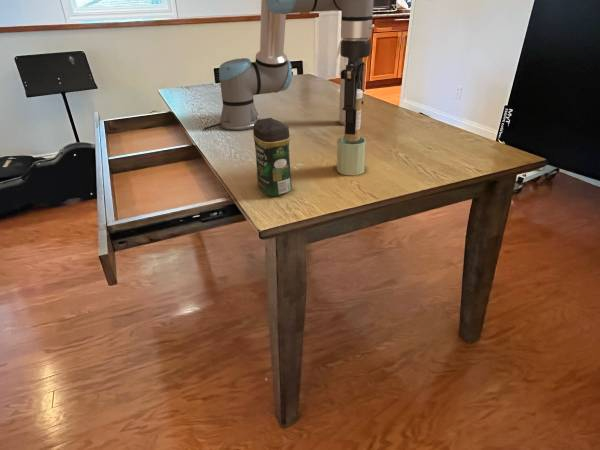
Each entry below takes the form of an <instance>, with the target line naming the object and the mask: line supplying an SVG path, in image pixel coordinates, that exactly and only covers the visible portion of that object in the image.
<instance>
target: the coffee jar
mask: <svg viewBox="0 0 600 450" xmlns="http://www.w3.org/2000/svg"><path fill="white" fill-rule="evenodd" d="M252 129H253V132H252V133H253V135H252V137H253V141H254V142H253V143H254V148H255V162H256V177H257V179H256V180H257V187H258V188H259V190H260V191H261V192H262V193H263V194H264V195H266V196H268V197H281V196H284V195H286V194H288V193H290V192H291V191H292V188H293V187H292V186H293V185H292V174H291V162H290V161H291V159H290V140H291V138H290V137H291V135H290V129H289V126H288V125H286V124H285V123H283V122H281V121H279V120H277V119H275V118H272V117H267V118H260V120H257V122H256V123H255V124H254V126H253V128H252Z"/></svg>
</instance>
